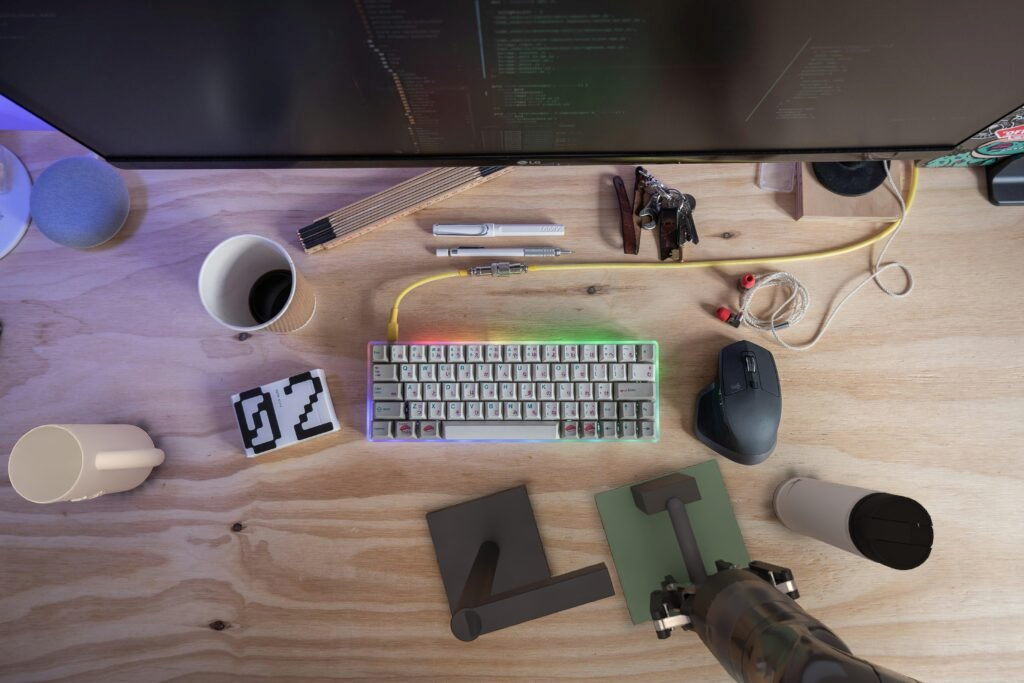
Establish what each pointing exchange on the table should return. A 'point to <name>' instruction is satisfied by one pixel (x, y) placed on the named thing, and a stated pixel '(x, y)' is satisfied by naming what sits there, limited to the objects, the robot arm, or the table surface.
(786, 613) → the robot arm
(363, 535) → the table surface
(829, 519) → the travel mug
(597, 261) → the table surface
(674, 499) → the square-ended dumbbell
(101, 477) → the mug
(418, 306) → the table surface
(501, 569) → the stand
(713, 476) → the desk mat
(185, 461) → the table surface
